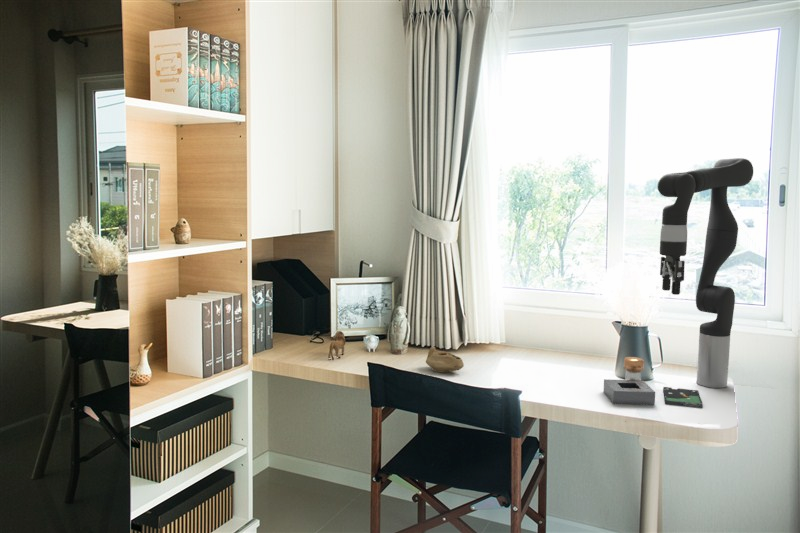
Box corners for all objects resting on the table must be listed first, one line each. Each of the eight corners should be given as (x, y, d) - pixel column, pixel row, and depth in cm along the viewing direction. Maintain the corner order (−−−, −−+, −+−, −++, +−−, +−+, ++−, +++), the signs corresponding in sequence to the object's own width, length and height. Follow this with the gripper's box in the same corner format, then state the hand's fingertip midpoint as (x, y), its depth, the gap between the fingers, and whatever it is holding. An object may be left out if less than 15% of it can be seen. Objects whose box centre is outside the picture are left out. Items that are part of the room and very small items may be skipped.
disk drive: (662, 395, 206) (664, 408, 192) (662, 386, 206) (665, 399, 192) (697, 398, 202) (702, 413, 189) (698, 389, 202) (703, 403, 188)
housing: (603, 394, 204) (604, 379, 203) (642, 395, 203) (643, 380, 202) (613, 407, 192) (613, 390, 191) (654, 408, 191) (655, 392, 190)
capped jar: (620, 386, 213) (622, 356, 212) (639, 386, 212) (640, 357, 211) (625, 391, 207) (627, 361, 206) (644, 392, 206) (646, 361, 205)
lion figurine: (333, 352, 257) (333, 329, 256) (346, 352, 257) (346, 330, 256) (326, 361, 242) (326, 338, 241) (340, 361, 242) (340, 338, 241)
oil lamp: (458, 378, 222) (458, 355, 221) (419, 371, 229) (419, 349, 228) (470, 370, 231) (471, 348, 230) (433, 364, 238) (433, 343, 238)
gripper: (695, 241, 189) (691, 296, 191) (677, 238, 203) (675, 289, 205) (668, 241, 190) (665, 295, 192) (653, 238, 204) (651, 288, 206)
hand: (670, 292), depth 198 cm, fingers open, 8 cm apart
